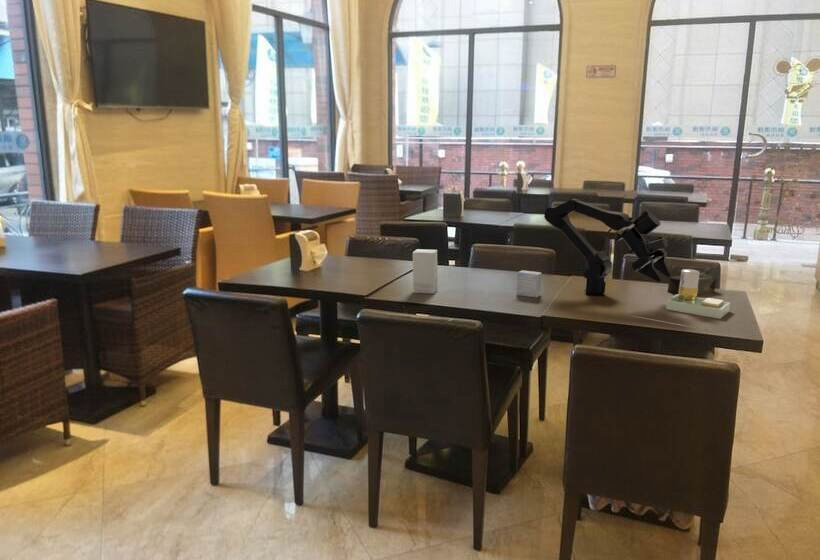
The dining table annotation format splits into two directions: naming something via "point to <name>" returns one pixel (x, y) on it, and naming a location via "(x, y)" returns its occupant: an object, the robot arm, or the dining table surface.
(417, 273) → the skincare box
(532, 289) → the medicine box
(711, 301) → the butter box
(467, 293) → the dining table surface
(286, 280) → the dining table surface
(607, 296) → the dining table surface
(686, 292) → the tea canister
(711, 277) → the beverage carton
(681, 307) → the tote
